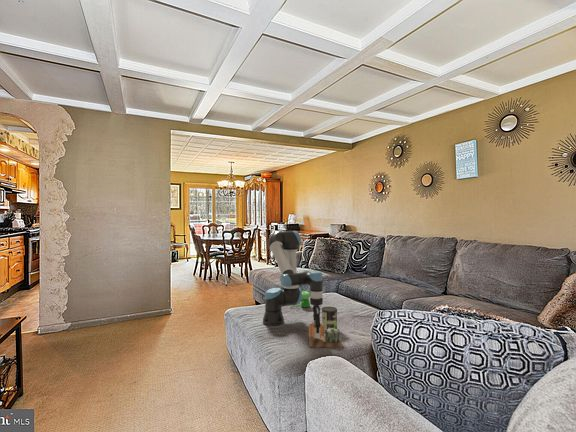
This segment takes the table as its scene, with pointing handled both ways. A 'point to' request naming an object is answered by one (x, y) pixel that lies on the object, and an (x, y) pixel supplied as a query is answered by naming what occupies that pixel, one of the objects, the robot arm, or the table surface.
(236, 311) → the table surface
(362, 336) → the table surface
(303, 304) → the toy character
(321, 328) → the loose gear
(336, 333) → the gear board
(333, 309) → the coffee can
